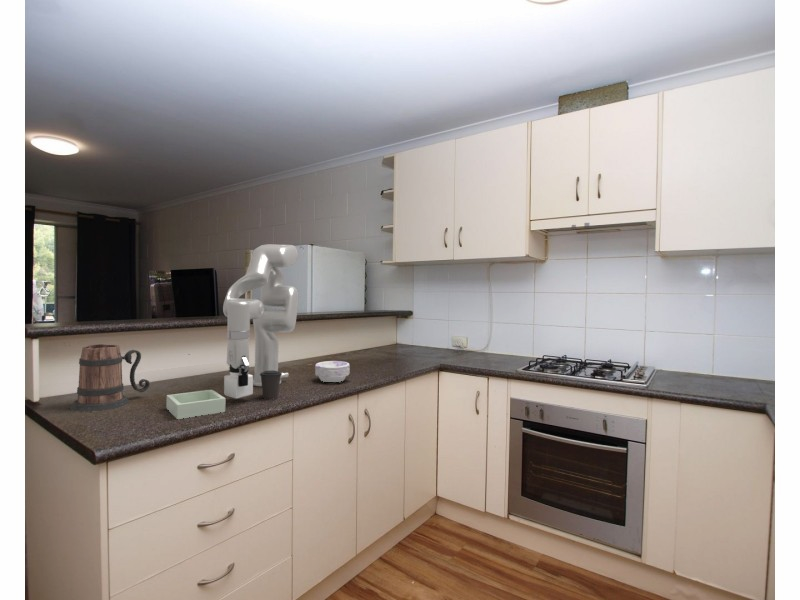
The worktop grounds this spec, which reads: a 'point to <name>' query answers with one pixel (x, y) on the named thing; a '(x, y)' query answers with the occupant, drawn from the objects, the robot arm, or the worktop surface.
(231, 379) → the medicine bottle
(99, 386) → the tankard
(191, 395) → the box
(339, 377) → the white ceramic bowl
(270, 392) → the coffee cup
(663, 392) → the worktop surface
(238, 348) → the robot arm
